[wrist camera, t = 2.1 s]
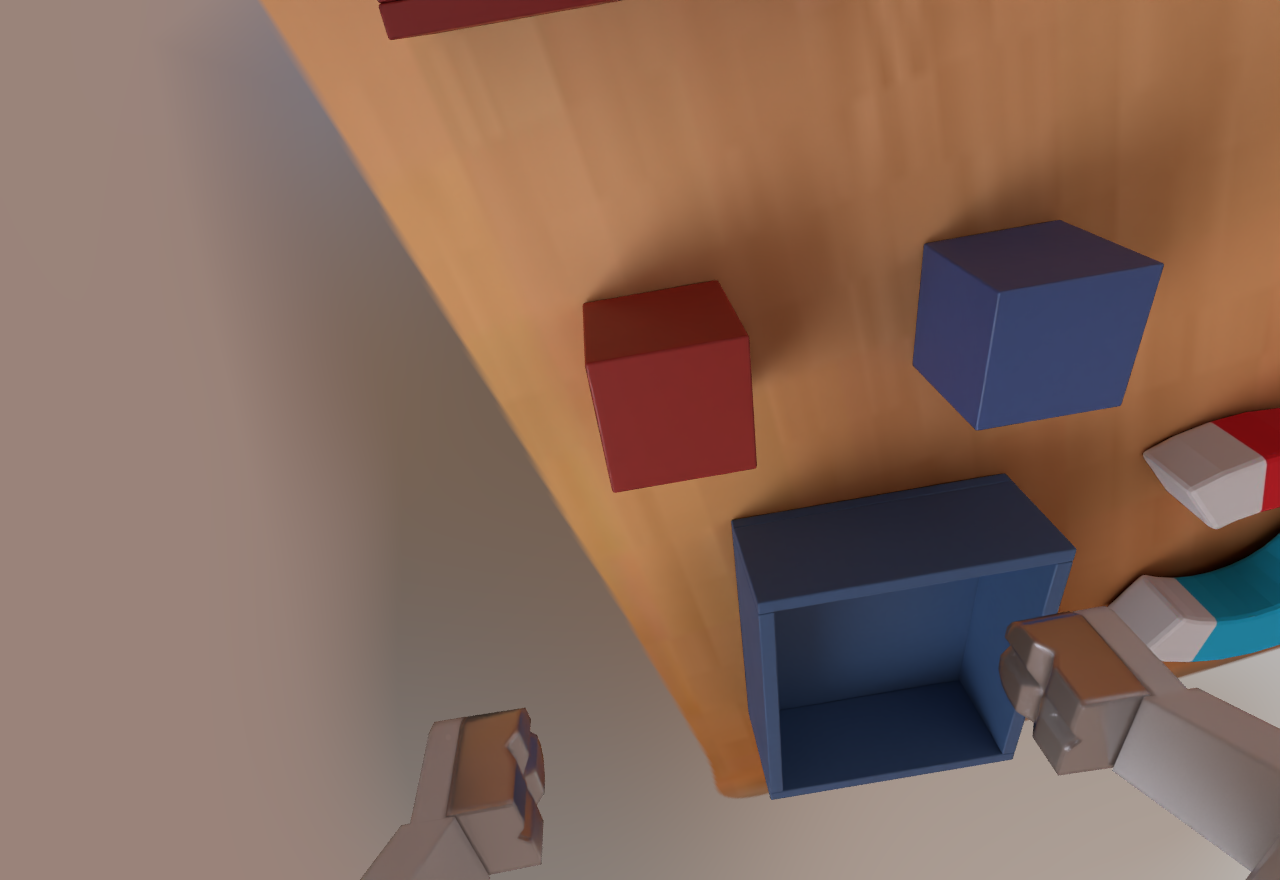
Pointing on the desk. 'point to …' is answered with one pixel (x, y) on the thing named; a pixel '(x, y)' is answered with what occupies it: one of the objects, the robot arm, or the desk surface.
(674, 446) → the red block
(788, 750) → the blue bin
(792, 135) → the desk surface
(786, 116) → the desk surface
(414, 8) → the red bin
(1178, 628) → the magnet
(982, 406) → the blue block
